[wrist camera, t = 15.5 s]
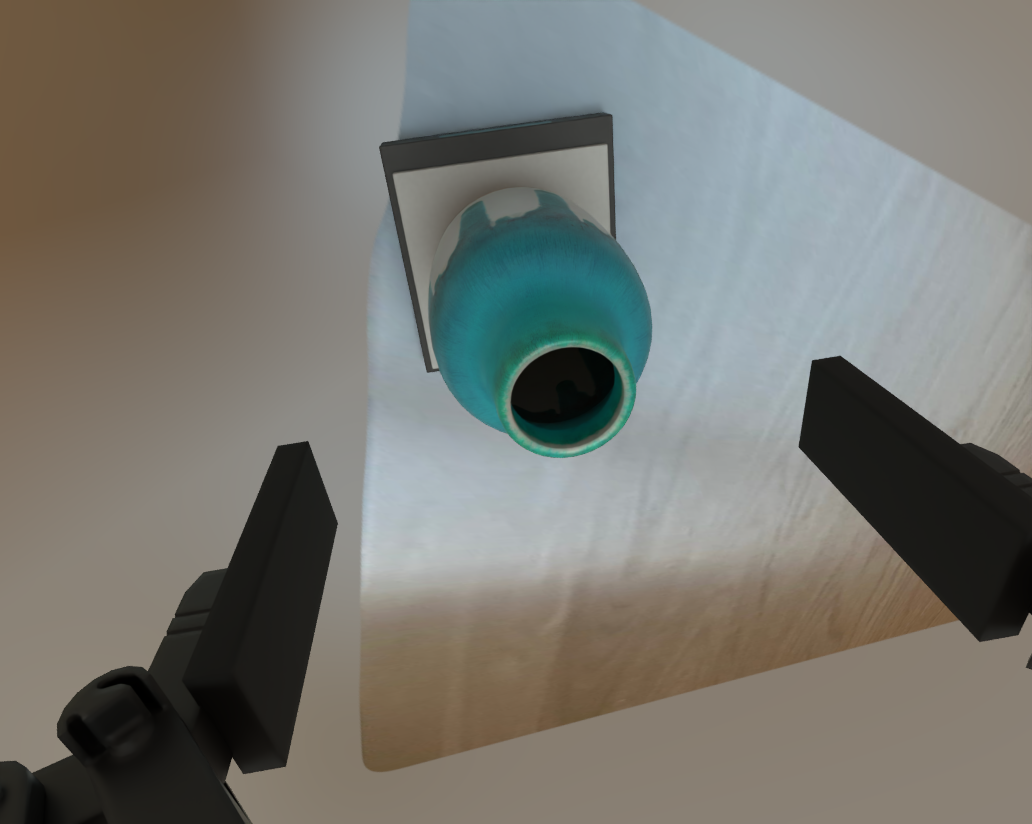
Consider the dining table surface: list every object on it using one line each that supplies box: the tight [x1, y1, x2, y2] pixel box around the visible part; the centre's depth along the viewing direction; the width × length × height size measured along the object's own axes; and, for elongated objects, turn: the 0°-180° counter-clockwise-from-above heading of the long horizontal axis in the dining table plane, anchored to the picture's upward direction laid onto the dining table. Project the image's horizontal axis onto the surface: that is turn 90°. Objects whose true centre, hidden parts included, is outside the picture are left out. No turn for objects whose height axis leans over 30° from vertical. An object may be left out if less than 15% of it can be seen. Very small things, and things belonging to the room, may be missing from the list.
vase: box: [428, 186, 652, 458], centre depth 31 cm, size 11×11×19 cm
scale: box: [379, 112, 616, 372], centre depth 40 cm, size 15×14×3 cm
